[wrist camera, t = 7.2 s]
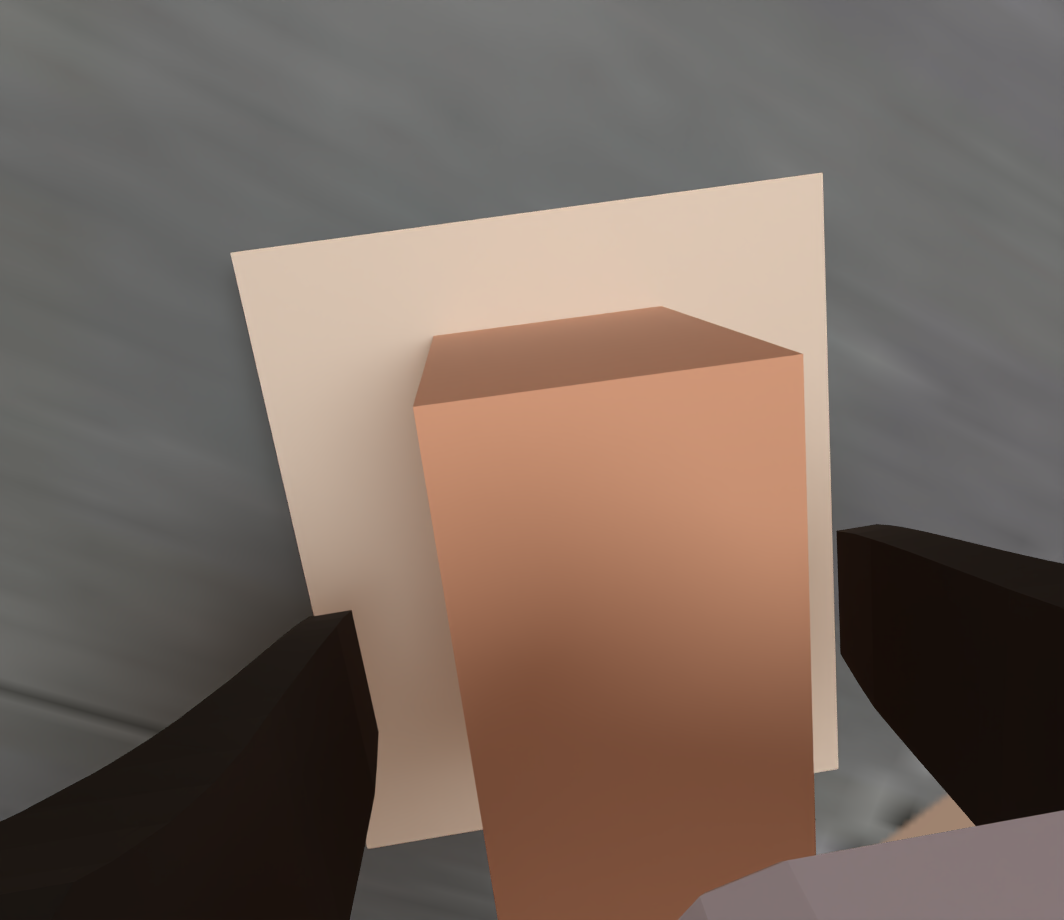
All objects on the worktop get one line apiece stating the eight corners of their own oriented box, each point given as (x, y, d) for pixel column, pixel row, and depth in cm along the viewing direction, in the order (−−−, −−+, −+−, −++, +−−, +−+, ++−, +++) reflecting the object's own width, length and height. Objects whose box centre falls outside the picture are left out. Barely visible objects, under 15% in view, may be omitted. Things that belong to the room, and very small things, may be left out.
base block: (783, 690, 20) (838, 768, 17) (381, 757, 19) (367, 848, 16) (759, 183, 16) (822, 172, 13) (272, 249, 16) (230, 252, 13)
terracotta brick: (690, 703, 16) (819, 963, 10) (495, 733, 16) (513, 1016, 10) (661, 306, 14) (803, 354, 8) (433, 336, 14) (412, 406, 8)
